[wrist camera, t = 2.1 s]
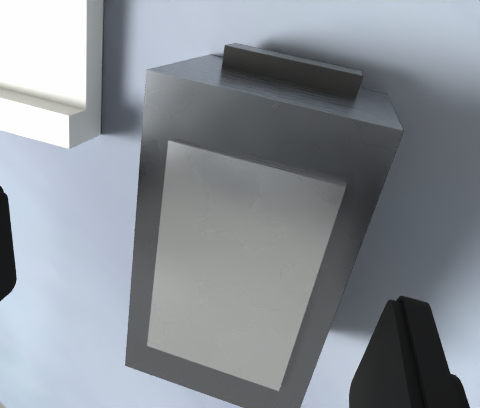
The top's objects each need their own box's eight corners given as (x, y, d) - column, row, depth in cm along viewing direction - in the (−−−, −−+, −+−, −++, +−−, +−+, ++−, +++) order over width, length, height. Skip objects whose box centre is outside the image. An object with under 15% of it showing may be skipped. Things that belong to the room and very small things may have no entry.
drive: (392, 74, 13) (415, 105, 8) (308, 323, 18) (292, 430, 13) (214, 35, 14) (144, 43, 9) (179, 283, 18) (122, 369, 14)
